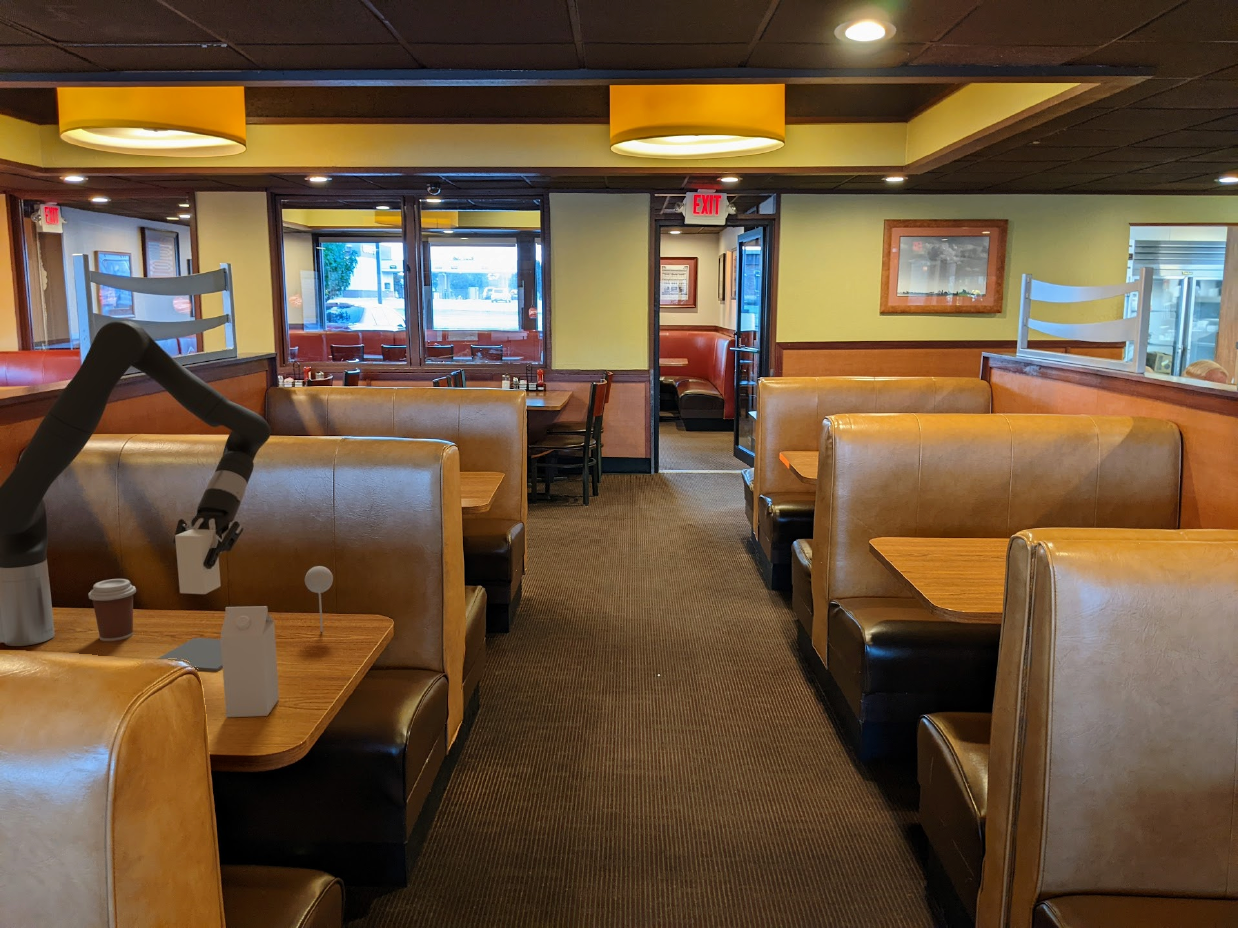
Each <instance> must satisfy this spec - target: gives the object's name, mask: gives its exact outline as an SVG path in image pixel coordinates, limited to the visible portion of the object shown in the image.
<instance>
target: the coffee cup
mask: <svg viewBox="0 0 1238 928" xmlns="http://www.w3.org/2000/svg"><path fill="white" fill-rule="evenodd" d="M92 588H93V589H91V590H90V592H88V594H87V595H88V599H89V600H91V601H92V604H93V605H92V606H93V609H94V614H95V619H96V620H95V621H96V624H97V631H98V633H99V634H98V635H99V640H100V641H103V642H116V641H117V642H118V641H123V640H125V639H128V638H130V637H132V636H133V635H134V594H136V592H137V588H136V586H135V585H132V583H131V581H130V580H129V579H127V578H112V579H105V580H101V581H98V582H96V583H95V584H93V586H92Z"/></svg>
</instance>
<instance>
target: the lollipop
mask: <svg viewBox="0 0 1238 928" xmlns="http://www.w3.org/2000/svg"><path fill="white" fill-rule="evenodd" d="M333 581H334V576H333V573H332V572H331V570H330V569H329V568H327V567H325V566H323V565H322V566H321V565H318V566H317V565H316V566H313V567H311V568H310V569H309V570H308V571H307V572H306V575H305V577H304V584H305V587H306V588H307V589H308V590H309V591H310V592H312V593H316V594H318V604H319V605H318V606H319V607H318V608H319V622H320V623H319V624H320V625H319V627H320V633H324V629H323V628H324V627H323V611H322V608H323V607H322V594H323V593H324V592H327V591H328V590H329V589H331V586H332V585H333Z"/></svg>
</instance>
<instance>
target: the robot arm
mask: <svg viewBox="0 0 1238 928" xmlns="http://www.w3.org/2000/svg"><path fill="white" fill-rule="evenodd" d="M131 367H132V368H134V369H136V370H138V371H140V372H141V373H143V374H144V375H146V376H147V377H149V378H150V379H152V380H153V381H155V382H156V383H157V384H158V385H160V386H161V387H162V389H164V390H165V391H166V392H167V393H168V394H170V396H171V397H172V398H173V399H175V401H176V402H177V403H179V404H180V405H181V406H182V407H183V408H185V409H186V410H187V411H188V412H189V413H191V414H192V415H194V416H195V417H196V418H198V419H199V420H201V421H202V422H203V423H205V424H206V425H208V426H209V427H211V428H218V427H220V426H223V427H224V428H227V429H228V430H230V433H229V435H228V437H227V439H226V442H225V444H224V448H223V450H222V457H220V460H219V462H218V464H217V466H216V469H215V471H214V472H213V474H212V477H211V478H210V479H209V482H208V483H207V485H206V488H205V490H204V492H203V495H202V497H201V500H200V502H199V503H198V506H197V510H196V514H195V516H194V517H193V518H192V519H191V520H184V519H183V518H180V519H179V520H178V521H177V524H176V528H175V529H176V530H175V532H174V537H173V541H172V543H173V544H174V545H175V546H176V540H175V535H178V534H180V533H183V532H186V531H188V530H198V529H203V530H214V531H215V532H214V534H213V541H212V543H211V547H212V548H211V549H209V551H208V553H207V556H206V558H205V560H204V563H203V565H204V566H205V567H206V568H207V569H211V568H212V566H214V565H215V563H216V561H217V558H218V557H219V556H220V554H222V553H223V552H225V551H226V552H227V553H228V552H231V551H232V549H233V548H234V545H235V544H236V542H237V541H238V539H239V537H240V536H241V535H242V533H243V531H244V528H243V526H242V525H241V523H240V522H239V521H234V520H235V517H236V515H237V514H238V511H239V508H240V506H241V504H242V501H243V499H244V497H245V493H246V489H247V485H248V484H249V481H250V479H251V476H252V474H253V471H254V464H255V463H254V459H255V458H256V455H257V453H258V452H259V450H260V449H261V448H262V447H263V446H264V445H265V443H266V442H267V441H268V440H269V439H270V437H271V433H272V431H271V427H270V425H269V423H268V422H267V420H266V419H264V417H263V416H261V415H260V414H258V413H257V412H255V411H253V410H250V409H249V408H246V407H244V406H243V405H240V404H238V403H235V402H233V401H230V400H229V398H227V397H225V395H223V394H221V393H220V392H219V391H217V390H216V389H215V388H214V387H212V386H211V385H209V384H208V383H206V381H204V380H202V379H201V378H200V377H199V376H197V375H195V374H194V373H193V372H191V371H190V370H189V369H187V368H186V367H185V366H183V365H182V364H181V363H179V361H177V360H176V359H175V358H173V357H172V356H171V354H169V352H168V351H166V350H164V349H163V348H162V346H160V345H159V343H157V342H156V341H155V339H154V338H153V337H152V336H151V335H149V333H148V332H147V330H145V329H144V328H143V327H142V326H141V325H140V324H138V323H137V322H134V321H131V320H113V321H110V322H107V323H106V324H104V325H103V326H102V327H101V328H100V329H99V330H98V331H97V333H96V334H95V337H94V339H93V340H92V344H91V345H90V347H89V349H88V351H87V354H86V355H85V358H83V361H82V363H81V365H80V367H79V369H78V370H77V372H76V374H75V375H74V376H73V377H72V378H71V380H70V381H69V382H68V384H66V386H65V387H64V389H63V390H62V391H61V393H60V394H59V395H58V397H57V398H56V400H55V401H54V403H53V404H52V405H51V406H50V408H49V409H48V411H47V413H46V414H45V415H44V417H43V419H42V420H41V422H40V424H39V425H38V427H37V428H36V430H35V432H34V434H33V436H32V437H31V439H30V440H29V442H28V444H27V446H26V448H25V449H24V452H23V453H22V455H21V457H20V459H19V461H18V462H17V464H16V466H15V467H14V469H13V470H12V471H11V473H10V474H9V475H8V477H6V479H5V481H4V482H3V483H2V484H1V486H0V643H3V644H4V645H6V646H10V647H24V646H30V645H31V646H32V645H36V644H40V643H43V642H46V641H49V640H51V639H53V638H54V637H55V635H56V634H55V626H54V625H55V624H54V614H53V606H52V605H53V604H52V595H51V586H50V577H49V567H48V559H47V550H48V545H49V533H48V531H49V530H48V517H47V509H46V503H45V501H44V497H45V495H46V493H47V491H48V490H49V489H50V487H51V485H52V484H53V483H54V482H55V480H56V479H58V477H60V475H61V474H62V473H63V471H64V470H66V469H67V468H68V467H69V465H70V464H72V462H73V461H74V460H75V459H76V458H77V456H79V454H80V453H81V451H82V450H83V449H84V448H85V447H86V445H87V444H88V442H89V440H90V439H91V437H92V436H93V434H94V432H95V431H96V429H97V428H98V425H99V424H100V422H101V420H102V417H103V415H104V413H105V409H106V407H107V404H108V401H109V399H110V396H111V394H112V392H113V390H114V388H115V387H116V385H117V384H118V382H119V381H121V378H122V377H123V376H124V375H125V373H126V372H127V371H128V370H129V369H130V368H131ZM225 533H226V534H225ZM224 534H225V535H224ZM174 562H175V565H176V566H178V563H177V555H176V556H175V559H174Z"/></svg>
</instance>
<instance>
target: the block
mask: <svg viewBox="0 0 1238 928" xmlns="http://www.w3.org/2000/svg"><path fill="white" fill-rule="evenodd" d="M214 532H215V531H214V530H203V529H198V530H191V529H190V530H188V531H186V532H183V533H180V534H178V535H175V534H174V536H175V540H176V545H175V548H176V549H175V550H176V556H177V563H178V565H177V572H178V573H177V574H178V586H179V594H193V595H206V594H208V593H210V592H213V591H215V590H217V589H219V588H220V587H221V586H222V585H221V574H220V571H221V570H220V560H219V559H220V558H219V556H218V558H217V561H216V563H215V565H214V566H212V568H211V569H207V568H206V567H205V566H204V565H203V563H204V560H205V558H206V556H207V553H208V551H209V549H211V548H212V547H211V543H212V541H213V534H214Z"/></svg>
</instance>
